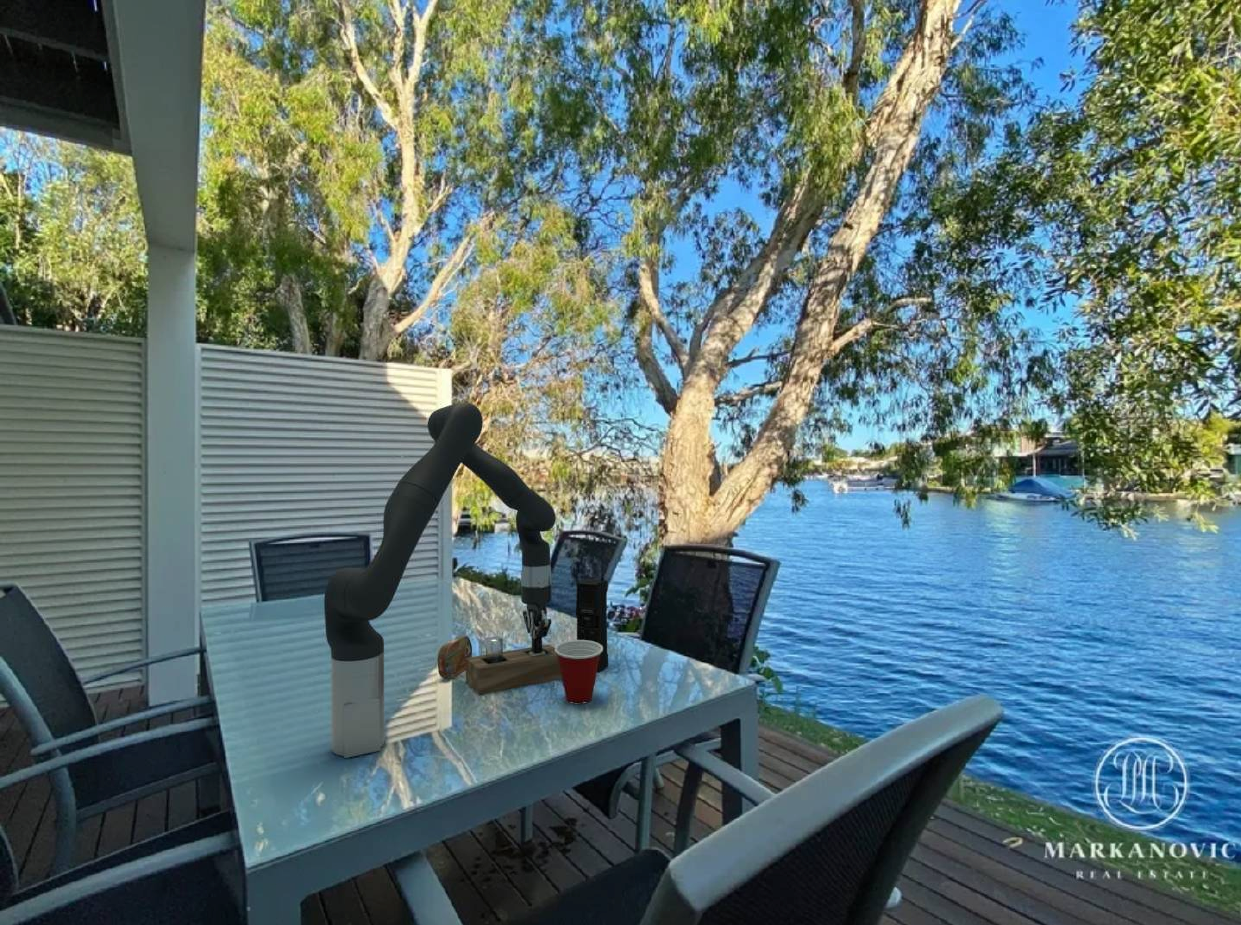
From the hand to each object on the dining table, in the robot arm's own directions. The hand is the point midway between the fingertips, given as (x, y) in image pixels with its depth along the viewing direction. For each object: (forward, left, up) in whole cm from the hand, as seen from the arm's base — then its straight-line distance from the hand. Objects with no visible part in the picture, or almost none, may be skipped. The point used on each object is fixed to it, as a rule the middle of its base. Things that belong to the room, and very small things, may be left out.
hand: (537, 652), depth 160 cm
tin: (+14, +17, -6) cm, 23 cm away
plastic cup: (-20, -1, -6) cm, 21 cm away
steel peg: (0, +11, -1) cm, 11 cm away
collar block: (0, +6, -6) cm, 8 cm away
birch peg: (0, 0, -6) cm, 6 cm away
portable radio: (-1, -14, -6) cm, 16 cm away
